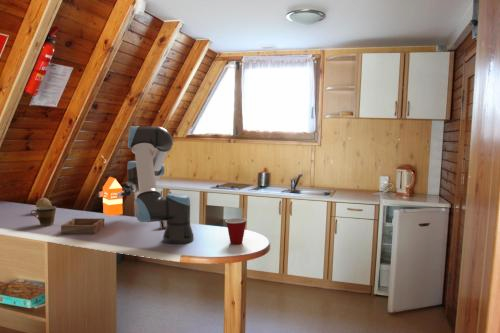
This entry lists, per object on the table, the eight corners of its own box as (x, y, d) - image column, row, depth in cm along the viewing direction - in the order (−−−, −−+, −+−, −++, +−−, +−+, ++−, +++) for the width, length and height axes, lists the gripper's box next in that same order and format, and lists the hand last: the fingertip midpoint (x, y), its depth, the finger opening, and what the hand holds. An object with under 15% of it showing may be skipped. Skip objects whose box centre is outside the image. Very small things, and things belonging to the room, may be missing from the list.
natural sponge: (34, 212, 263) (33, 197, 262) (49, 210, 269) (48, 195, 268) (38, 215, 256) (37, 199, 255) (53, 213, 262) (52, 197, 261)
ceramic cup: (54, 222, 239) (54, 205, 238) (58, 225, 231) (57, 208, 230) (29, 224, 231) (29, 207, 230) (32, 228, 223) (31, 210, 222)
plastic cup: (229, 239, 208) (230, 216, 207) (249, 241, 205) (250, 218, 204) (221, 244, 198) (221, 220, 197) (242, 247, 195) (242, 222, 193)
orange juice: (108, 215, 219) (108, 178, 217) (103, 213, 225) (102, 177, 223) (123, 214, 223) (122, 177, 221) (116, 211, 230) (116, 176, 228)
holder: (94, 234, 214) (93, 225, 213) (61, 234, 213) (60, 225, 213) (104, 226, 231) (104, 218, 230) (74, 226, 230) (73, 218, 230)
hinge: (167, 229, 226) (162, 212, 226) (161, 231, 228) (156, 214, 228) (185, 223, 241) (180, 207, 241) (179, 225, 243) (174, 208, 243)
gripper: (145, 195, 240) (128, 202, 218) (109, 194, 243) (89, 201, 221) (145, 183, 239) (128, 188, 217) (108, 182, 242) (89, 187, 220)
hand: (108, 195), depth 219 cm, fingers closed on orange juice, 10 cm apart
